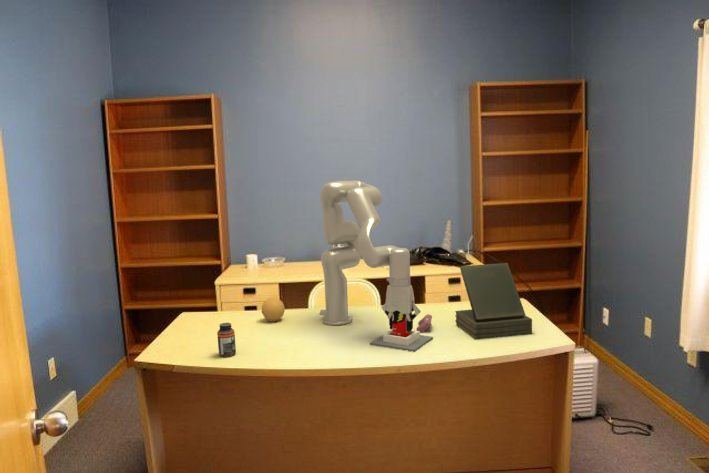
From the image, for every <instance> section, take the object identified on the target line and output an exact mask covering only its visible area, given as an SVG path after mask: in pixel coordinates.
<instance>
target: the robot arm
mask: <svg viewBox="0 0 709 473" xmlns="http://www.w3.org/2000/svg"><path fill="white" fill-rule="evenodd" d="M319 198H320V199H319V200H320V205H321V209H322V221H323V238H324V242H325V243H326V244H327V245H329V246H330V245H331V246H333V245H334V246H335V245H336V246H337V245H343V246H338V247H332V248H328V249H325V250H324V251H323V252H322V254H321V257H320V264H321V267H322V270H323V280H324V292H325V293H324V295H325V296H324V298H325V299H324V300H325V309H320V311H319V313H318V314H319V315H320V316H323V318H322V323H323V324H324V325H328V326H343V325H347V324H350V323H351V322H353V317H352V316H350V315H349V303H348V302H349V301H348V300H349V299H348V298H349V296H348V280H347V277H346V275H345V273H344V271H343V270H346V269H351V268H352V269H353V268H355V267H357V266H359V264H360V262H361V258H362V259H363V262H364V263H365V265H367V267H369V268H372V269H376V268H382V267H383V268H384V267H388V266H389V268H388V270H389V271H388V272H389V276H388V277H386V282H388V283H389V284H388V285H387V287H386V294H385V303H384V304H382V305H381V310H382V311H383V312H384V314H385V315H386V316H387V319H388V324H389V325H388V326H389V329H390V330H392V313H393V312H394V311H399V312H400V313H401V314H406V317H407V319H408V321H407V332H409V331H411V330H414V322H413V321H414V320H415V318H416V317H417V316H419V314H420V313H421V310H420V308H419V307H418V306H417V305H416V304H415V296H414V289H413V286H412V284H411V260H410V259H411V257H410V256H411V253H410V250H409V249H408V248H406V247H397V246H396V245H393V244H388V245H382V246H375V247H374V245H373V243H372V240H371V238H370V232H371V231H372V230H373V229H374V228H376V227H377V226H378V225H379V224H380V221H381V218H380V216H379V214H378V212H377V210H376V208H377V207H379V206H380V205H381V204H382V198H383V197H382V193H381V191H380V190H379V189H378V187H375V186H374V185H371V184H368V183H365V182H363V181H360V180H338V181H336V180H335V181H330V182H327V183H326V184H324V185H323V186H322V188H321V190H320V195H319ZM345 202H347V203H348V205H349V207H350V210H351V212H352V213H353V216H354V219H355V220H356V222H355V221H352V220H344V210H343V208H342V206H341V205H340V203H345ZM413 312H414V313H413Z"/></svg>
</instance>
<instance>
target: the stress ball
mask: <svg viewBox="0 0 709 473" xmlns="http://www.w3.org/2000/svg"><path fill="white" fill-rule="evenodd" d="M285 308H286V307H285V305H284V302H283V301H282V300H281V299H279V298H275V297H272V298H271V297H270V298H267V299H266V300H264V302H263V304H262V306H261V314H262V316H263V317H264V318H265V319H266V320H267V321H271V322H277V321H278V320H280V319H281V318H282V317H283V316H284V314H285V311H286V309H285Z"/></svg>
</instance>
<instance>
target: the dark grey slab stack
mask: <svg viewBox="0 0 709 473" xmlns="http://www.w3.org/2000/svg"><path fill="white" fill-rule="evenodd" d="M459 270H460V274H461V277H462V280H463V284H464V287H465V290H466V294H467V297H468V301H469V303H470V304H469V305H470V308H471V309H463V310H461V309H460V310H454V312H455V324H456V326H457V327H458V328H459V329H460V330H462V331H463V332H465V333H466V334H467V335H469V336H470V337H471V338H472V339H474V341H476V340H486V339H497V338H507V337H515V336H528V335H533V319H532V318H531V317H529V316H527V315H526V312H525V310H524V306H523V304H522V301H521V298H520V295H519V293H518V289H517V286H516V284H515V281H514V278H513V277H514V276H513V275H512V272H511V269H510V267H509V263H508V262H500V263H490V264H489V263H487V264H475V265H461V266H460V268H459Z"/></svg>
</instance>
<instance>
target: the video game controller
mask: <svg viewBox="0 0 709 473" xmlns="http://www.w3.org/2000/svg"><path fill="white" fill-rule="evenodd" d="M432 318H433V316H432V314H429V313H428V314H425V315H424V317H423V318H421V319H420V320H419V321H418V322H417V323H418V324H417V325H418V326H417V328H416V331H420V333H422V332H423V333H424V332H425V331H427V330H428V329H429V328H430V327H432V325H433V323H432Z"/></svg>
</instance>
